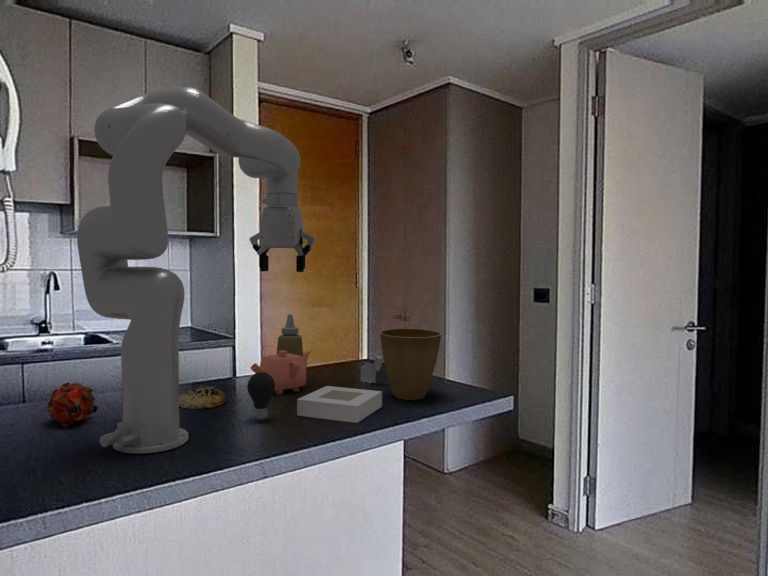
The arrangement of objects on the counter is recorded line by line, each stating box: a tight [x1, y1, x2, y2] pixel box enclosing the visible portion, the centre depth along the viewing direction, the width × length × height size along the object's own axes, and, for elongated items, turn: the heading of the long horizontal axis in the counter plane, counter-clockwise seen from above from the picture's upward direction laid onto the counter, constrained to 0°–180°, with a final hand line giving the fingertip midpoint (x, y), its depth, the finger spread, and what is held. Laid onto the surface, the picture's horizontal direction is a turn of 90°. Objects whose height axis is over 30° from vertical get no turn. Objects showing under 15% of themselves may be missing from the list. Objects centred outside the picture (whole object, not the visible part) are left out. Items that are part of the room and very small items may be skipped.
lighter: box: [360, 354, 384, 384], centre depth 152 cm, size 7×2×8 cm, turn 48°
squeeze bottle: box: [276, 314, 304, 357], centre depth 156 cm, size 8×8×18 cm
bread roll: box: [179, 385, 227, 410], centre depth 129 cm, size 11×11×5 cm
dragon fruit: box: [46, 382, 100, 427], centre depth 114 cm, size 8×8×12 cm
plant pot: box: [379, 328, 442, 401], centre depth 137 cm, size 15×15×16 cm
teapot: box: [250, 350, 313, 395], centre depth 143 cm, size 14×12×10 cm
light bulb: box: [246, 372, 276, 422], centre depth 116 cm, size 6×6×10 cm
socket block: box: [296, 385, 383, 424], centre depth 124 cm, size 14×14×4 cm
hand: (282, 271), depth 140 cm, fingers open, 9 cm apart
